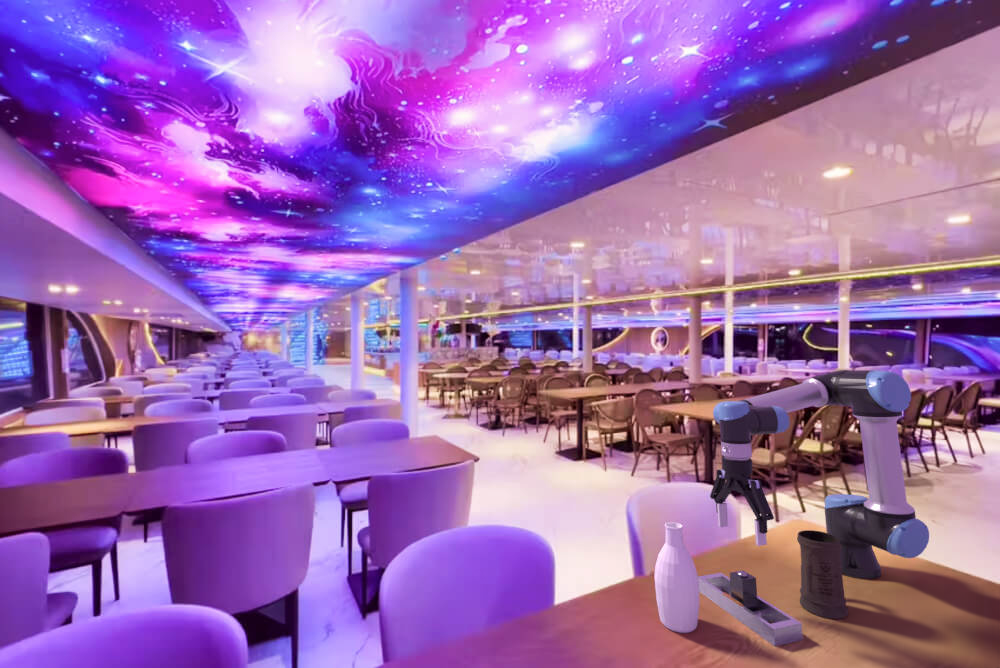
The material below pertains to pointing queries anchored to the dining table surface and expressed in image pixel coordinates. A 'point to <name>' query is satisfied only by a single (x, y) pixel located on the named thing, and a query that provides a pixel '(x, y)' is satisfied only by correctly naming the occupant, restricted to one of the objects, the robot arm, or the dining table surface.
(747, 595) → the square peg with dome
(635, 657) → the dining table surface
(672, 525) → the bottle
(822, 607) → the beer stein
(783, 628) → the frame with square openings
